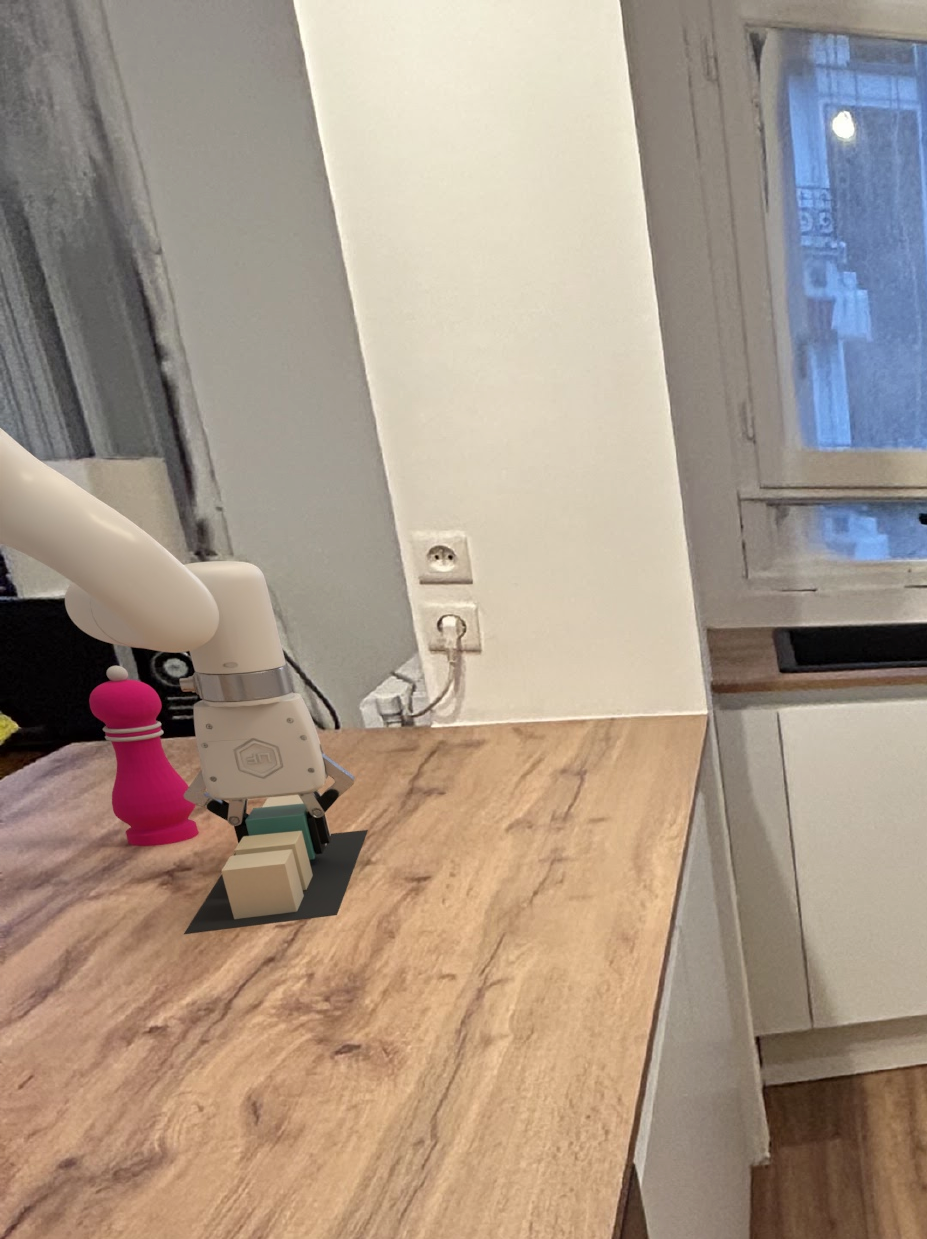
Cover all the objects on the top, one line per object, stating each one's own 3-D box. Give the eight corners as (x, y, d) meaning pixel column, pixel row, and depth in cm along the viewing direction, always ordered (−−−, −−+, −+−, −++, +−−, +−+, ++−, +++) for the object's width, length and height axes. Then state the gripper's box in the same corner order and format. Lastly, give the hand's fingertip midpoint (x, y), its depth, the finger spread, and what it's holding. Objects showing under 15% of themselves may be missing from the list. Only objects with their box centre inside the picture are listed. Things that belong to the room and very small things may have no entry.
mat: (184, 938, 127) (183, 933, 127) (242, 847, 152) (241, 842, 152) (338, 919, 132) (336, 914, 132) (368, 833, 158) (367, 829, 158)
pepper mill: (166, 830, 158) (117, 658, 151) (221, 833, 157) (174, 661, 150) (106, 849, 151) (52, 670, 144) (164, 852, 150) (112, 673, 143)
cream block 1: (271, 852, 149) (260, 808, 147) (278, 840, 153) (267, 797, 152) (325, 846, 151) (315, 803, 150) (331, 834, 156) (321, 792, 154)
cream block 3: (234, 919, 130) (220, 870, 128) (243, 903, 134) (230, 855, 133) (297, 911, 132) (284, 863, 131) (304, 896, 137) (292, 849, 135)
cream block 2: (246, 897, 136) (234, 850, 134) (254, 882, 140) (242, 836, 138) (306, 890, 138) (295, 843, 137) (313, 875, 142) (301, 830, 141)
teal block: (256, 865, 142) (244, 820, 140) (264, 852, 146) (252, 808, 144) (314, 859, 144) (303, 814, 142) (320, 846, 148) (309, 802, 147)
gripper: (132, 699, 132) (182, 875, 138) (341, 686, 139) (379, 853, 146) (149, 685, 138) (197, 854, 144) (349, 673, 146) (385, 834, 152)
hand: (288, 852), depth 145 cm, fingers closed on teal block, 5 cm apart
